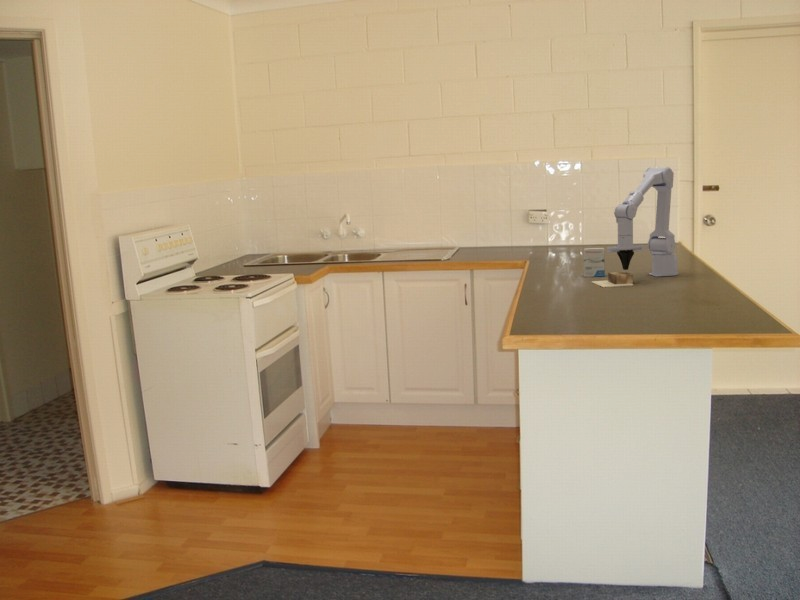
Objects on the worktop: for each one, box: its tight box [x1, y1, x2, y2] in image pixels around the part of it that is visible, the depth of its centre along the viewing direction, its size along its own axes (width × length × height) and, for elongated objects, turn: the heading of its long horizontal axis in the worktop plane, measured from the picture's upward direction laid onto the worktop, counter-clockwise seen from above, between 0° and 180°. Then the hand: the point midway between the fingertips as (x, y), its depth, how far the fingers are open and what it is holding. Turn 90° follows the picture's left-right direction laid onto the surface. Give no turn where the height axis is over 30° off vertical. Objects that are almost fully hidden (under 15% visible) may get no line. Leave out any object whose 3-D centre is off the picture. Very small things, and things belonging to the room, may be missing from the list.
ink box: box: [583, 247, 606, 278], centre depth 324 cm, size 8×5×12 cm, turn 74°
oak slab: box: [607, 271, 634, 284], centre depth 302 cm, size 4×8×7 cm
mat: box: [590, 279, 634, 289], centre depth 302 cm, size 12×14×1 cm
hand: (625, 269), depth 302 cm, fingers closed
